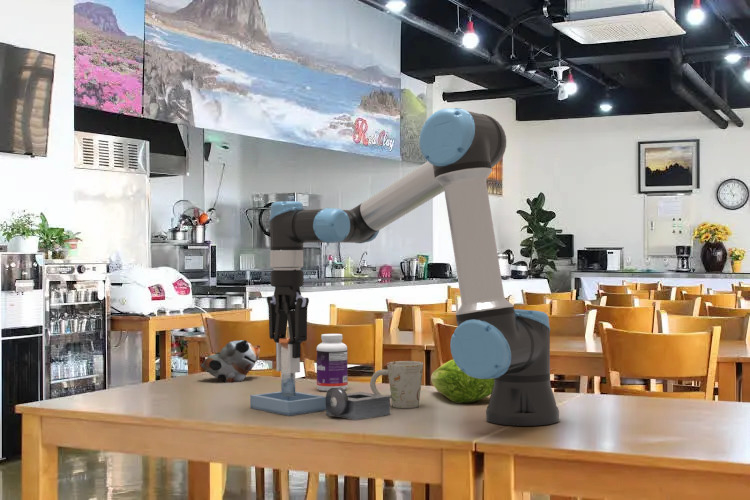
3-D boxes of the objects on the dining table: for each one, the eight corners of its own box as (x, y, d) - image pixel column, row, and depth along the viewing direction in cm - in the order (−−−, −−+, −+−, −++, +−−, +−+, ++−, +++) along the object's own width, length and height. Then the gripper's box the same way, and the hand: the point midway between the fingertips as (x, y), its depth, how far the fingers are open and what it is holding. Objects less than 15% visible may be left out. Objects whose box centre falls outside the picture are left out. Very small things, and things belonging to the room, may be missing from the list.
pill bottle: (313, 388, 260) (312, 333, 260) (343, 387, 262) (342, 332, 262) (321, 392, 252) (320, 336, 252) (351, 391, 254) (350, 335, 254)
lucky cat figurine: (227, 375, 290) (250, 333, 290) (252, 395, 282) (275, 352, 282) (191, 365, 278) (215, 322, 278) (216, 385, 271) (240, 341, 270)
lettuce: (466, 369, 255) (428, 342, 251) (513, 374, 232) (473, 344, 229) (442, 409, 252) (404, 382, 248) (488, 418, 229) (447, 389, 226)
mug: (420, 409, 223) (420, 365, 223) (366, 408, 226) (365, 364, 226) (426, 403, 232) (425, 361, 232) (373, 402, 234) (373, 360, 234)
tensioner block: (390, 414, 217) (389, 385, 217) (347, 421, 209) (347, 390, 209) (361, 409, 224) (360, 380, 224) (319, 415, 217) (318, 385, 217)
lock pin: (300, 396, 226) (300, 338, 226) (286, 397, 223) (285, 339, 223) (290, 394, 229) (289, 337, 229) (276, 396, 226) (275, 338, 226)
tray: (327, 410, 224) (327, 396, 224) (288, 415, 217) (287, 402, 217) (289, 403, 235) (289, 390, 235) (250, 408, 228) (250, 395, 228)
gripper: (322, 269, 222) (323, 373, 222) (279, 268, 235) (280, 367, 235) (295, 269, 217) (296, 376, 217) (252, 269, 230) (253, 369, 230)
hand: (288, 371), depth 226 cm, fingers closed on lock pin, 4 cm apart
